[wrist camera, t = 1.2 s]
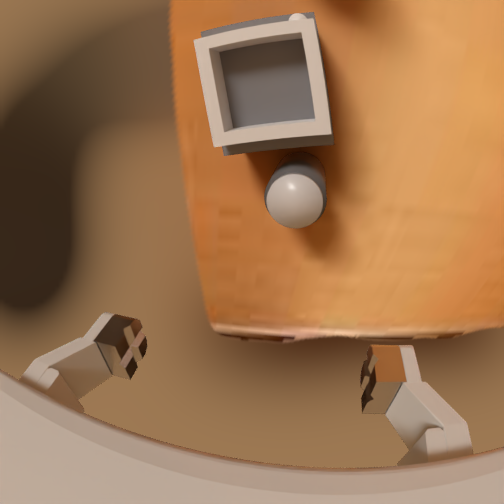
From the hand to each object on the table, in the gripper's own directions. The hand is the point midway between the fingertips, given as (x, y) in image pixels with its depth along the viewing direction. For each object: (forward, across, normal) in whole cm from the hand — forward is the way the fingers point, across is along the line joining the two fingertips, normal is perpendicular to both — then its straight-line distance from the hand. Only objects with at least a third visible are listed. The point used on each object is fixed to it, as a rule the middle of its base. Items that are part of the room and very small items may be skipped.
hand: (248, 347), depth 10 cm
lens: (+23, -1, 0) cm, 23 cm away
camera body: (+23, +2, -9) cm, 25 cm away
